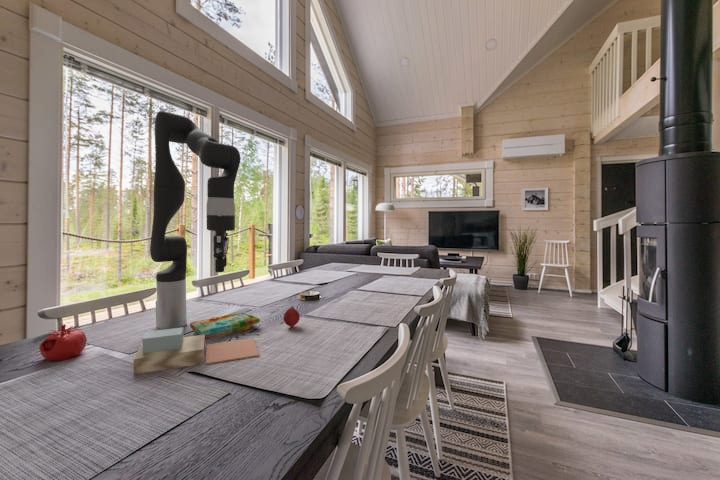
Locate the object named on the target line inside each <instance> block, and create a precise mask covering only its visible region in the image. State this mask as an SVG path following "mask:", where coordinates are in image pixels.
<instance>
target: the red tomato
mask: <svg viewBox="0 0 720 480" xmlns="http://www.w3.org/2000/svg"><path fill="white" fill-rule="evenodd" d="M66 327H67V326H66V324H62V325H60V328H61V330H54V329H52V330H49V331H48V333H49V332H51V333H49V334H48V335H46V336H45V337H46V338H45V339H44V340H43V341H41V342H40V344H39V347H38V349H39V350H38V351H39V352H40V355H41V356H42V358H44V359H45V360H47V361H50V362H51V361H53V362H54V361H64V360H68V359H71V358H75V357H77V356H79V355H80V354H81V353H82V352H83V351H84V349H86V344H87V343H88V339H87V335H86V333H85V332H84V331H82V328H81V329H80V328H76V329H72V328H75V326H69V327H68V328H67V329H66ZM52 332H53V333H52Z"/></svg>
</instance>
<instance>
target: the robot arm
mask: <svg viewBox="0 0 720 480" xmlns="http://www.w3.org/2000/svg"><path fill="white" fill-rule="evenodd" d="M153 128H154V146H155V147H154V148H155V149H154V150H155V152H154V153H155V167H154V168H155V169H154V183H153V219H152V229H151V235H150V245H149V252H150V258H151V260H152V261H153V262H155V263H163V262H164V263H165V262H166V263H167V262H172V263H171V265H169V266H168V267H166V268H165V269H162V270H160V271H159V272H157V273H156V274H155V275H156V276H155V277H156V284H155V285H156V301H155V326H156V327H157V328H158V329H157V330H164V329H173V328H182V327H183V328H184V327H185V326H187V324H188V323H187V321H188V320H187V318H188V317H187V316H188V315H187V313H188V311H187V281H186V279H187V277H186V276H187V261H188V260H187V259H188V258H187V257H188V243H187V240H186V238H185V237H184V236H182V235H166V232H167V228H168V226H169V223H170V222H171V220H172V219H173V217H175V215H176V214H177V212H179V210H180V208H182V206H183V204H184V202H185V198H186V197H185V194H186V182H185V179H184V177H183V175H182V172H181V171H180V169H179V168H178V166H177V165H176V163H175V162H174V159H173V157H172V155H171V149H170V142H171V143H177V144H183V145H184V144H187V147H188V149H189V150H190V151H191V152H192V153H194V154H195V155H196V156H198V158H199V160H200V162H201V164H203V165H204V166H206V167H208V168H215V169H221V170H222V173H221V175H219V176H218V175H217V176H211V177H209V178H208V179H207V184H206V185H207V189H206V190H207V191H206V192H207V193H206V194H207V197H206V198H207V200H206V201H207V202H206V230H208V231H210V232H211V231H215V235H213V237H212V243H213V245H212V246H213V249H212V250H213V255H212V256H213V258H214V259H215V260H214V261H215V264H214V266H215V273H223V272H224V271H225V268H226V267H227V265H228V263H227V261H228V260H227V259H228V258H227V255H228V251H229V242H230V237H229V236H228V235H229V234H228V232H229V231H230V232H231V231H235V230H236V204H235V183H236V178H237V174H238V171H239V168H240V164H241V154H240V151H239V149H238V148H237V147H236V146H234V145H230V144H225V143H222V142H221V143H220V142H219V141H218V140H217V139H216V138H214V137H213V136H211V135H209V134H207V133H205V132H204V131H202V129H200V128H199V127H198V126H197V125H196V123H195V122H194V121H193V120H192V119H190V118H189V117H187V116H184V115H180V114H177V113H172V112H169V111H165V110H164V111H163V110H160V111H158V112H157V113H156V115H155V118H154V127H153Z"/></svg>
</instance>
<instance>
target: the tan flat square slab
mask: <svg viewBox="0 0 720 480" xmlns="http://www.w3.org/2000/svg"><path fill="white" fill-rule="evenodd" d="M205 351H206V352H205V353H206V354H205V365H206V366H207V365H212V364H218V363H224V362H230V361H237V360H244V359H250V358H257V357H259V355H260V354H259V351H258V348H257V344H256V342H255V338H253V337H252V338H244V339H238V340H237V339H236V340H230V341H224V342H223V341H221V342H215V343H208V344H206V349H205Z"/></svg>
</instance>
